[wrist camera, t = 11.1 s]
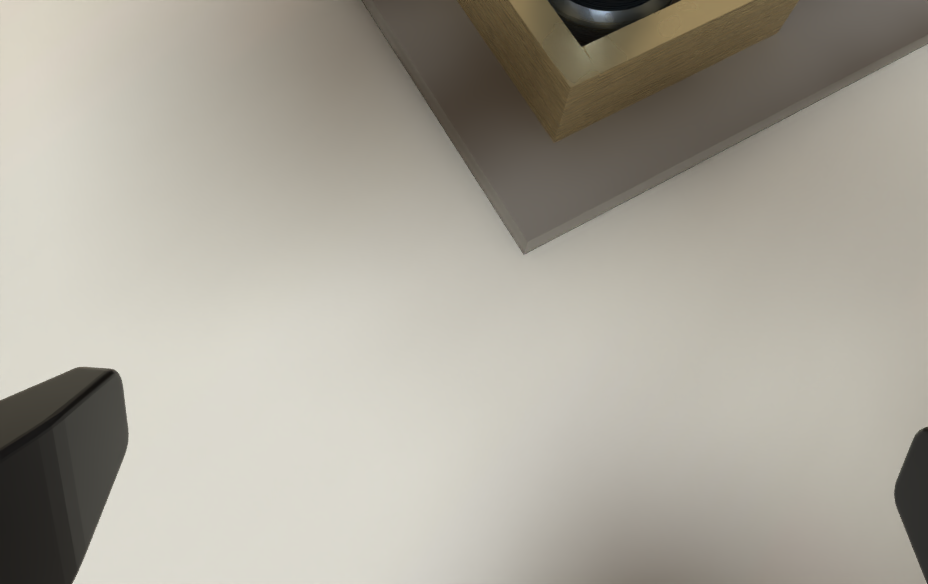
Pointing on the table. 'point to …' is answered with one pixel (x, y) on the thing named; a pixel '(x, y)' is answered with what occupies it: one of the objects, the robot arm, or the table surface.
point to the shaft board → (641, 124)
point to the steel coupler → (602, 15)
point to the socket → (614, 53)
